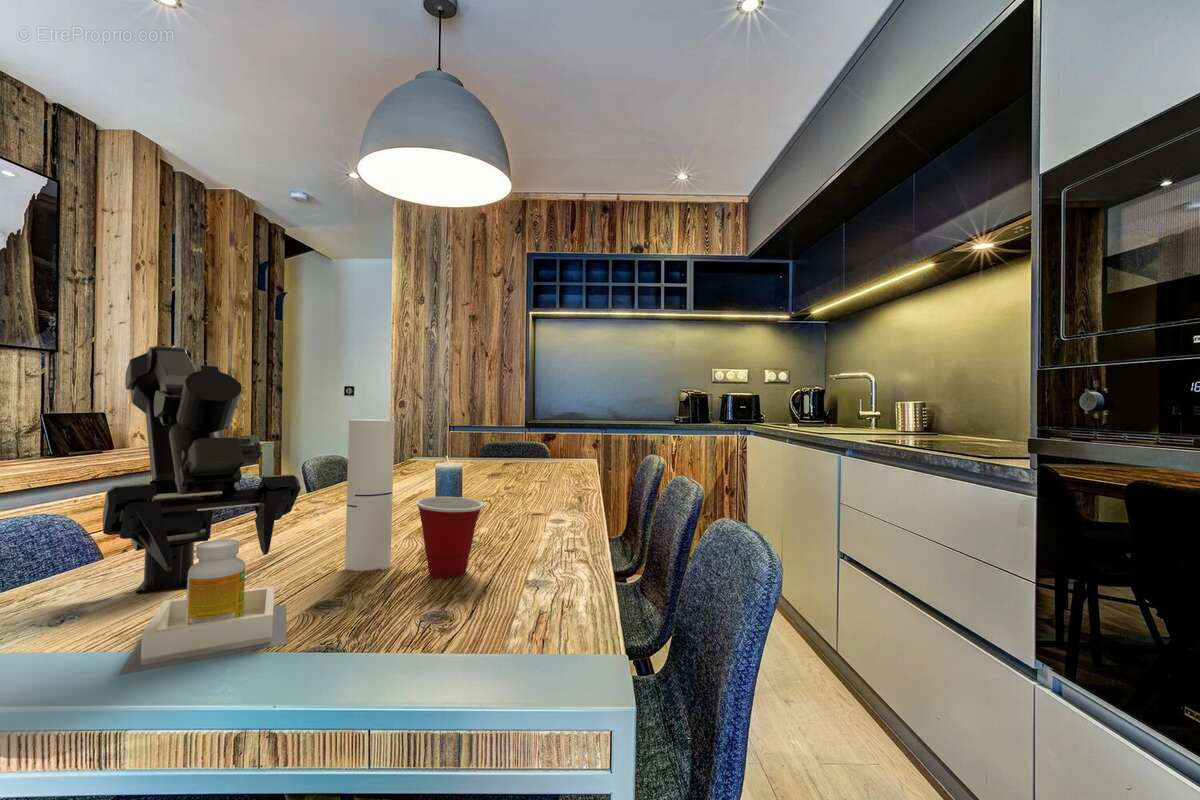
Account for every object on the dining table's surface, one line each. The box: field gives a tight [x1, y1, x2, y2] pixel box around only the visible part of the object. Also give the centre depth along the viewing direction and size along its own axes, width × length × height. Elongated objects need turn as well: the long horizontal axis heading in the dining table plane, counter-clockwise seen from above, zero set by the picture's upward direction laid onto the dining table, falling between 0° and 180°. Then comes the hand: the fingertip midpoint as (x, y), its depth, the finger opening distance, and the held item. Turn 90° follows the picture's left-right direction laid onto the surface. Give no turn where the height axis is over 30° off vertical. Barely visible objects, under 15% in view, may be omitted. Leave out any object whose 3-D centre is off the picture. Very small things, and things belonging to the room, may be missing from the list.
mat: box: [117, 604, 288, 676], centre depth 60 cm, size 14×14×1 cm
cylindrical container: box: [344, 419, 395, 572], centre depth 89 cm, size 7×7×25 cm
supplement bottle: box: [186, 539, 246, 625], centre depth 61 cm, size 5×5×10 cm
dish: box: [141, 585, 275, 665], centre depth 60 cm, size 11×11×3 cm
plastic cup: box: [416, 496, 485, 579], centre depth 86 cm, size 11×11×12 cm
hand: (220, 560), depth 60 cm, fingers open, 9 cm apart
